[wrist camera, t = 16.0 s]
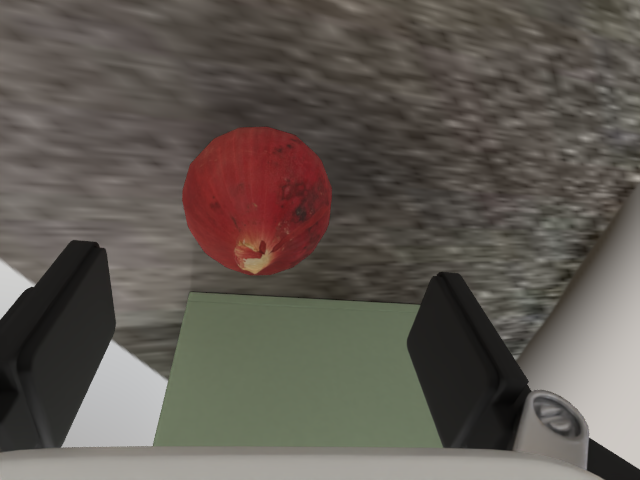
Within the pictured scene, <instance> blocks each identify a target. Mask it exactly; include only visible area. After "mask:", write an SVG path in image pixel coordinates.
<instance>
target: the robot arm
mask: <svg viewBox="0 0 640 480" xmlns="http://www.w3.org/2000/svg"><path fill="white" fill-rule="evenodd" d="M115 326H116V320H115V313H114V305H113V298H112V290H111V283H110V275H109V267H108V260H107V253H106V250H105V249H104V248H100V247H99V244H98V243H97V242H90V241H78V240H73V241H71V242H70V243H69V244H68V245H67V247H66V248H65V249H64V250H63V252H62V253H61V254H60V255H59V257H58V258H57V259H56V260H55V262H54V263H53V264H52V265H51V267H50V268H49V269H48V270H47V272H46V273H45V274H44V275H43V277H42V278H41V279H40V280H39V282H38V283H37V284H36V285H35V287H30V288H28V289H26V290H25V291H24V292H23V293H22V294H21V296H20V297H19V298H18V299H17V300H16V302H15V303H14V304H13V305H12V306H11V308H10V309H9V310H8V311H7V313H6V314H5V315H4V316H3V317H2V319H1V320H0V480H640V470H639V469H638V468H636V467H635V466H633V465H631V464H630V463H628V462H627V461H625V460H624V459H622V458H620V457H619V456H617V455H616V454H614V453H613V452H611V451H609V450H608V449H606V448H605V447H603V446H602V445H600V444H598V443H597V442H595V441H594V440H592V439H590V438H589V429H588V425H587V423H586V421H585V419H584V417H583V416H582V415H581V414H580V412H579V411H578V410H577V409H576V408H575V407H574V406H573V405H572V404H571V403H570V402H568V401H567V400H565V399H564V398H562V397H561V396H559V395H557V394H554V393H552V392H549V391H545V390H534V391H531V390H530V388H529V386H528V385H527V383H528V382H529V381H528V379H527V378H526V376H525V375H524V373H523V372H522V370H521V369H520V367H519V365H518V364H517V362H516V361H515V359H514V358H513V356H512V354H511V353H510V351H509V350H508V348H507V347H506V345H505V344H504V342H503V340H502V339H501V337H500V336H499V334H498V333H497V331H496V330H495V328H494V326H493V325H492V323H491V322H490V320H489V319H488V317H487V315H486V314H485V312H484V311H483V309H482V308H481V306H480V305H479V303H478V301H477V300H476V298H475V297H474V295H473V294H472V292H471V291H470V289H469V287H468V286H467V284H466V283H465V281H464V280H463V278H462V276H461V275H460V274H458V273H448V272H439V273H438V274H437V276H433V277H432V278H431V280H430V283H429V285H428V288H427V290H426V293H425V295H424V298H423V300H422V303H421V305H420V308H419V310H418V313H417V315H416V318H415V320H414V323H413V325H412V327H411V330H410V332H409V335H408V338H407V349H408V352H409V355H410V358H411V361H412V363H413V366H414V369H415V372H416V374H417V377H418V380H419V383H420V385H421V388H422V391H423V394H424V396H425V399H426V402H427V405H428V407H429V410H430V413H431V416H432V418H433V421H434V424H435V426H436V429H437V432H438V435H439V437H440V440H441V443H442V446H443V448H405V447H256V446H151V447H148V446H147V447H146V446H145V447H144V446H141V447H139V446H138V447H80V448H79V447H74V448H73V447H72V448H61V446H62V444H63V442H64V440H65V438H66V436H67V434H68V432H69V429H70V427H71V425H72V423H73V421H74V419H75V417H76V414H77V412H78V410H79V408H80V406H81V404H82V401H83V399H84V397H85V395H86V393H87V391H88V388H89V386H90V384H91V382H92V380H93V378H94V375H95V373H96V371H97V369H98V367H99V365H100V362H101V360H102V358H103V356H104V354H105V352H106V350H107V348H108V345H109V343H110V341H111V339H112V337H113V334H114V331H115Z"/></svg>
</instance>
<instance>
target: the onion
mask: <svg viewBox="0 0 640 480" xmlns="http://www.w3.org/2000/svg"><path fill="white" fill-rule="evenodd" d="M331 199H332V187H331V185H330V182H329V179H328V177H327V174H326V171H325V169H324V166H323V163H322V161H321V159H320V158H319V157H318V156H317V154H315V153H314V152H313V151H312V150H311V149H310V148H309V147H308V146H307V145H306V144H304V143H303V142H302V141H301V140H300V139H299V138H298V137H297V136H296V135H293V134H290V133H287V132H283V131H280V130H277V129H273V128H270V127H242V128H237V129H235V130H233V131H230V132H228V133H226V134H223V135H221V136H219V137H216V138H214V139H213V140H212V141H211V142H210V143H209V144H208V146H207V147H206V148H205V149H204V150H203V151H202V152H201V153H200V154H199V155H198V156H197V157H196V159H195V160H194V161H193V162H192V163H191V164H190V166H189V170H188V173H187V177H186V180H185V184H184V187H183V195H182V201H183V206H184V210H185V215H186V220H187V225H188V227H189V229H190V231H191V233H192V234H193V236H194V237H195V239H196V240H197V242H198V243H199V245H200V246H201V248H202V249H203V251H204V252H205V253H206V254H207V255H208V256H210V257H211V258H213V259H215V260H216V261H218V262H219V263H221V264H222V265H224V266H225V267H227V268H229V269H232V270H235V271H238V272H241V273H244V274H247V275H272V274H275V273H278V272H281V271H284V270H287V269H290V268H292V267H294V266H295V265H297V264H298V263H299V262H301V261H302V260H303V259H305V258H306V257H307V256H308V255H310V254H311V253H312V252H313V251H314V249H315V248H316V246H317V244H318V243H319V241H320V240H321V238H322V236H323V235H324V233H325V232H326V230H327V227H328V225H329V218H330V209H331Z"/></svg>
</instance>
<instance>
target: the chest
mask: <svg viewBox="0 0 640 480" xmlns="http://www.w3.org/2000/svg"><path fill="white" fill-rule="evenodd" d="M419 308H420V305H416V304H398V303H380V302H362V301H343V300H325V299H307V298H289V297H271V296H252V295H234V294H216V293H198V292H190V293H189V297H188V302H187V305H186V310H185V314H184V318H183V322H182V326H181V330H180V335H179V339H178V343H177V347H176V351H175V355H174V359H173V364H172V368H171V372H170V376H169V380H168V384H167V389H166V393H165V397H164V401H163V405H162V410H161V413H160V418H159V422H158V426H157V430H156V434H155V438H154V443H153V446H256V447H405V448H443V446H442V443H441V440H440V437H439V435H438V432H437V429H436V426H435V424H434V421H433V418H432V416H431V413H430V410H429V407H428V405H427V402H426V399H425V396H424V394H423V391H422V388H421V385H420V383H419V380H418V377H417V374H416V372H415V369H414V366H413V363H412V361H411V358H410V355H409V352H408V349H407V338H408V335H409V332H410V330H411V327H412V325H413V323H414V320H415V318H416V315H417V313H418V310H419Z"/></svg>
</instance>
